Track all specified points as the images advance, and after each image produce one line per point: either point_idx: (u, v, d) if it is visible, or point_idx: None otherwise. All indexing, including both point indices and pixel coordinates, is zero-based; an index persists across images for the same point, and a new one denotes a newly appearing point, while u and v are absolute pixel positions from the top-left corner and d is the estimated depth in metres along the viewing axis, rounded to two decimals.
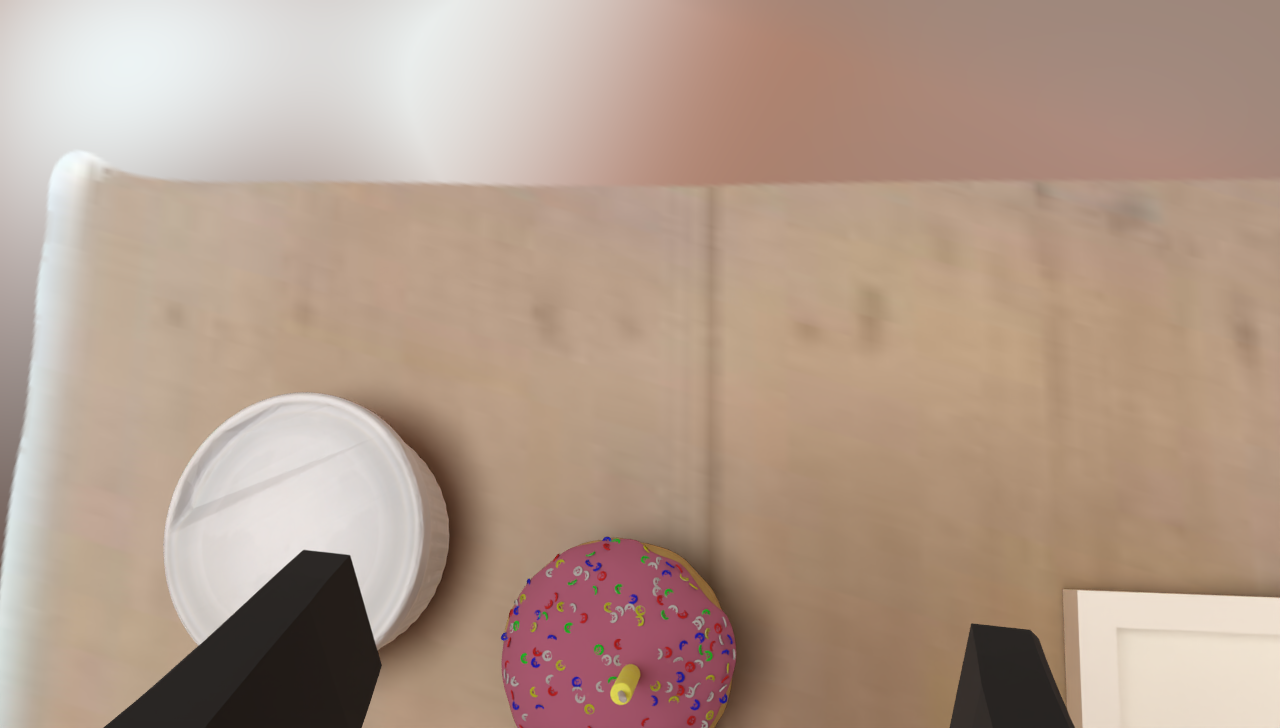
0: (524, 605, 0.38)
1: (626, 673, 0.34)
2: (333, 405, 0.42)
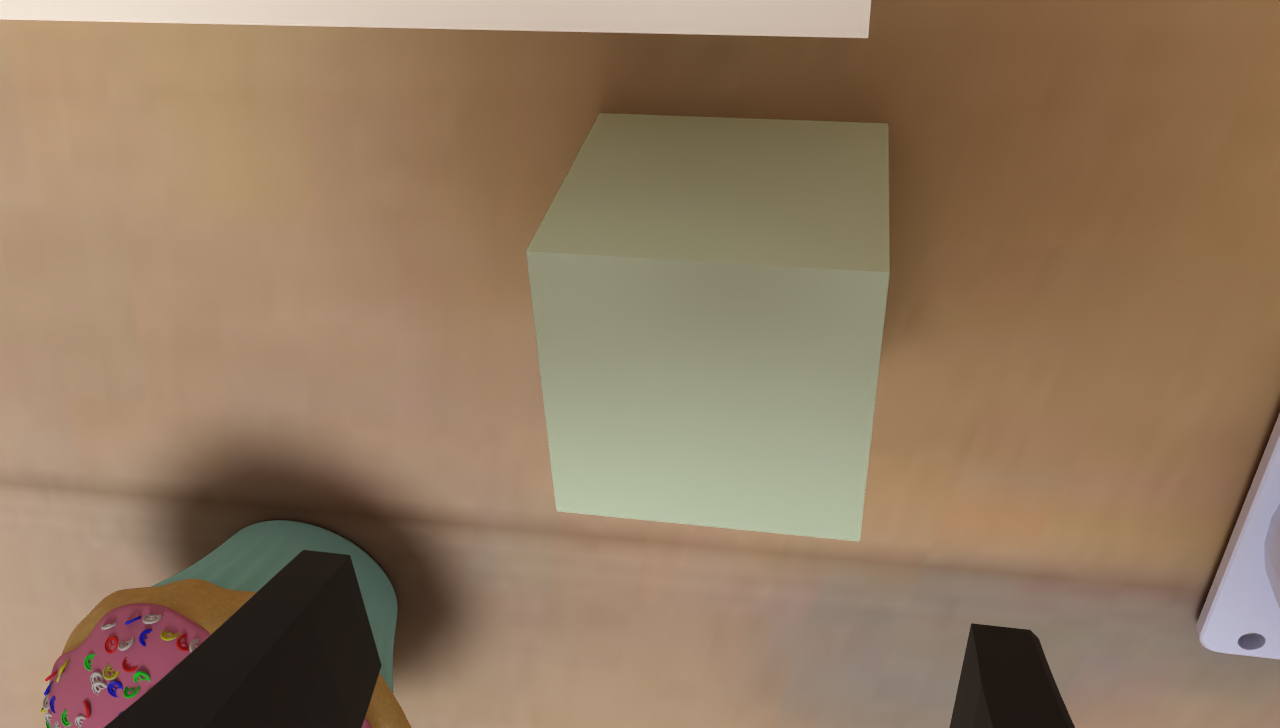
0: None
1: None
2: None
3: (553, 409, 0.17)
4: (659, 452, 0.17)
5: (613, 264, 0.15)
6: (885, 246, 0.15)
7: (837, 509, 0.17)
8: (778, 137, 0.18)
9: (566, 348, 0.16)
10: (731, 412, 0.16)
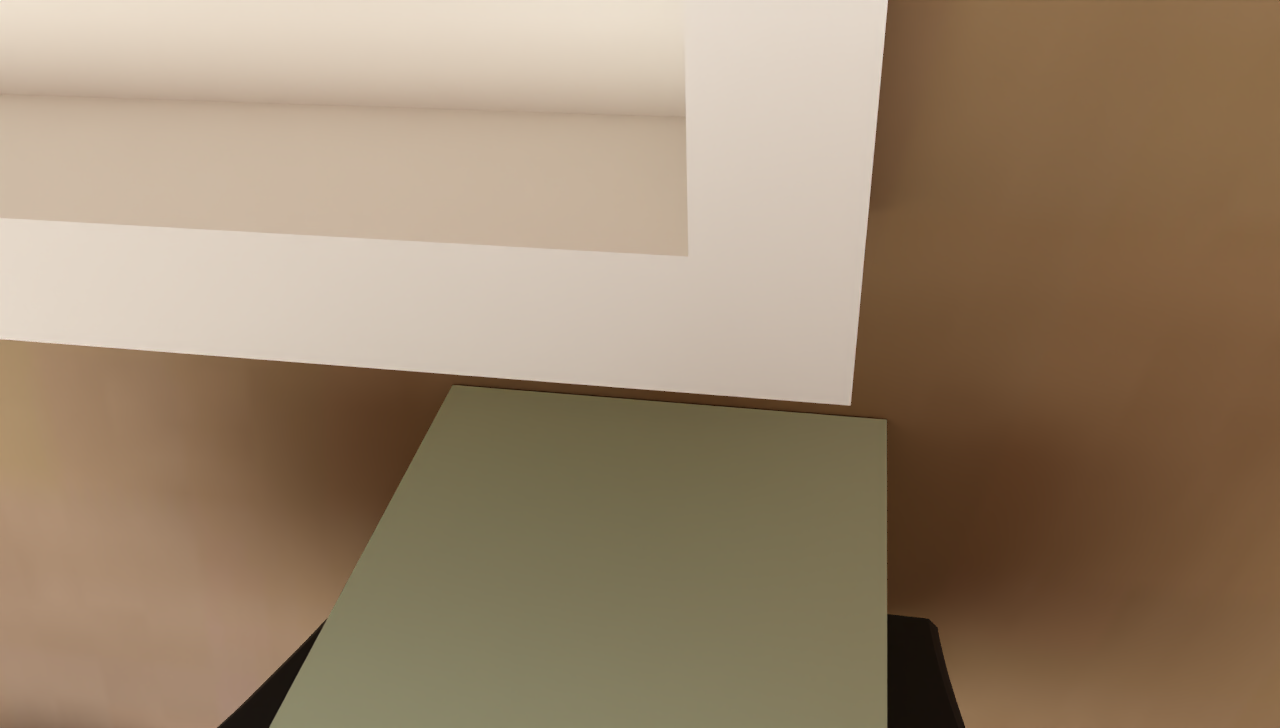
0: None
1: None
2: None
3: None
4: None
5: None
6: None
7: None
8: (714, 454, 0.11)
9: None
10: None
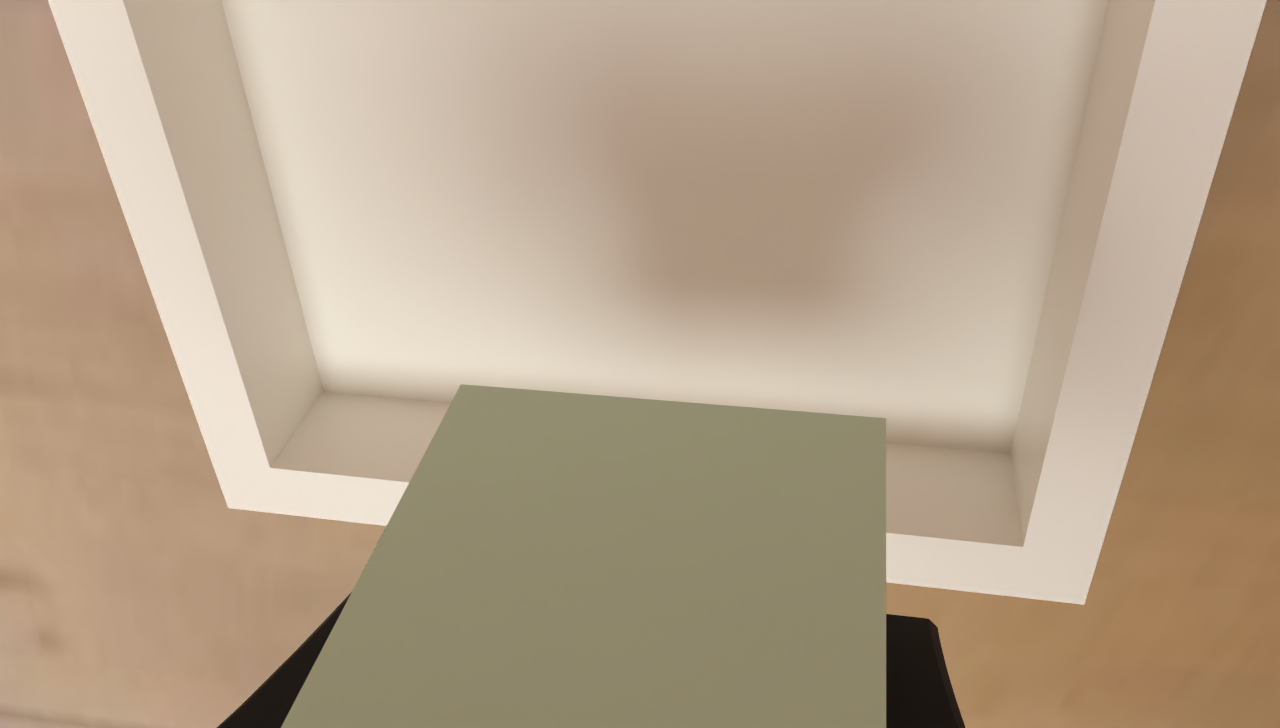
0: None
1: None
2: None
3: None
4: None
5: None
6: None
7: None
8: (717, 452, 0.12)
9: None
10: None
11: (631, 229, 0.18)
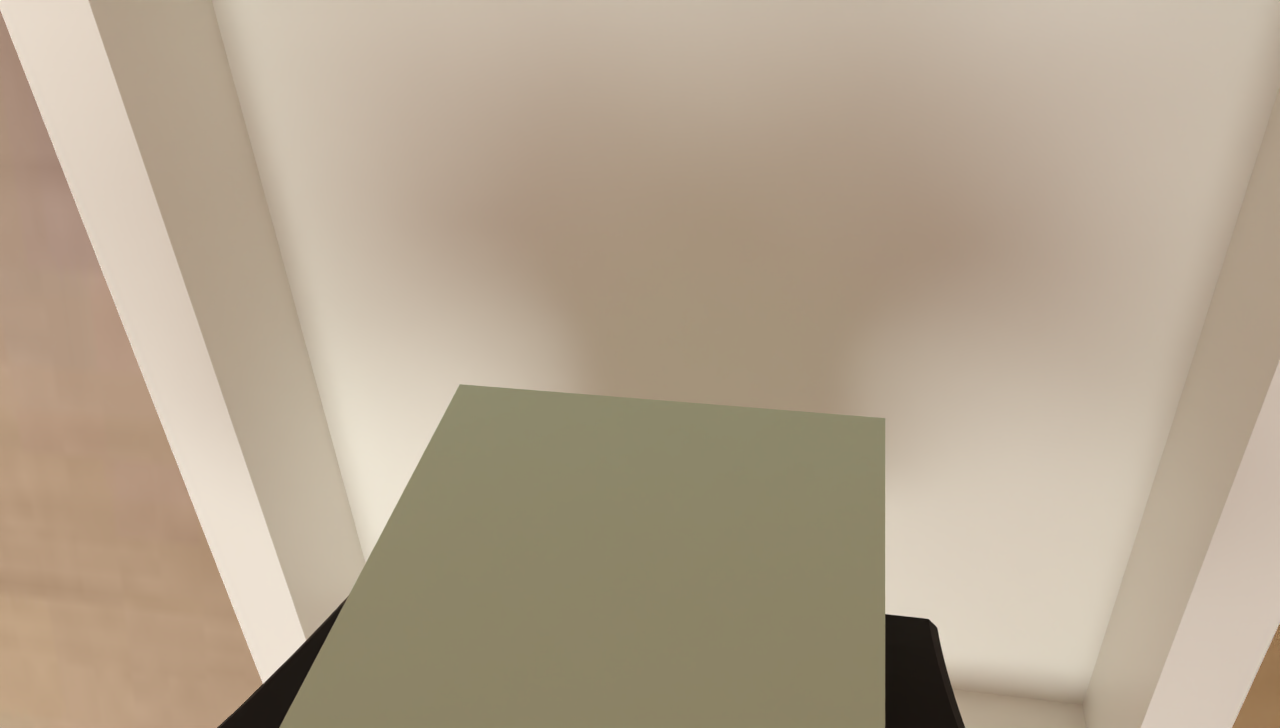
0: None
1: None
2: None
3: None
4: None
5: None
6: None
7: None
8: (717, 452, 0.12)
9: None
10: None
11: None
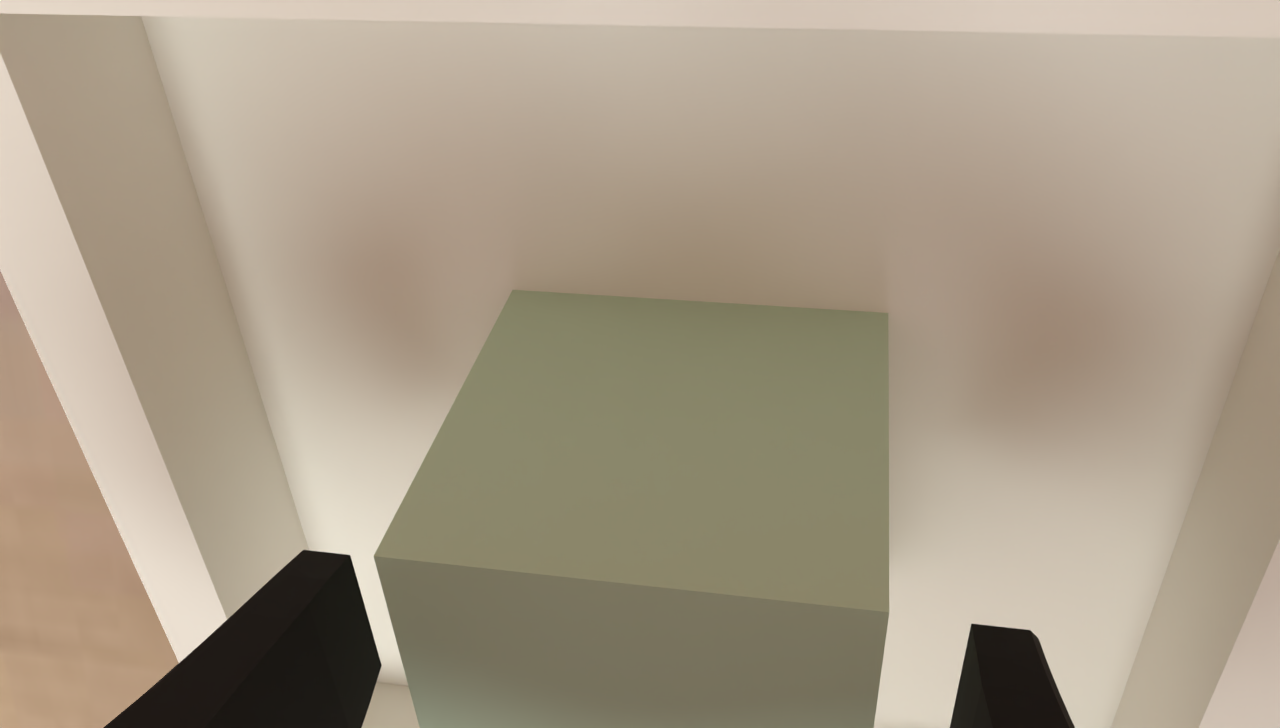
0: None
1: None
2: None
3: None
4: None
5: (495, 578, 0.10)
6: (883, 556, 0.10)
7: None
8: (741, 340, 0.13)
9: (442, 667, 0.12)
10: None
11: None
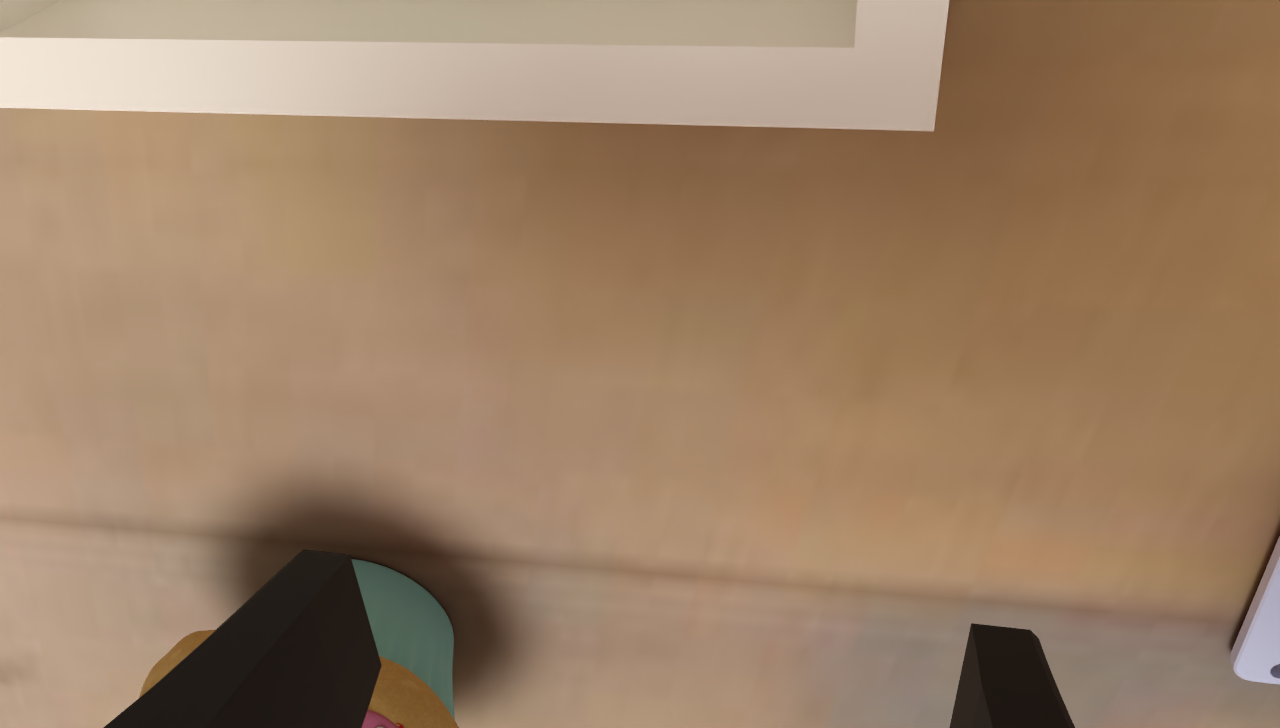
0: None
1: None
2: None
3: None
4: None
5: None
6: None
7: None
8: None
9: None
10: None
11: None
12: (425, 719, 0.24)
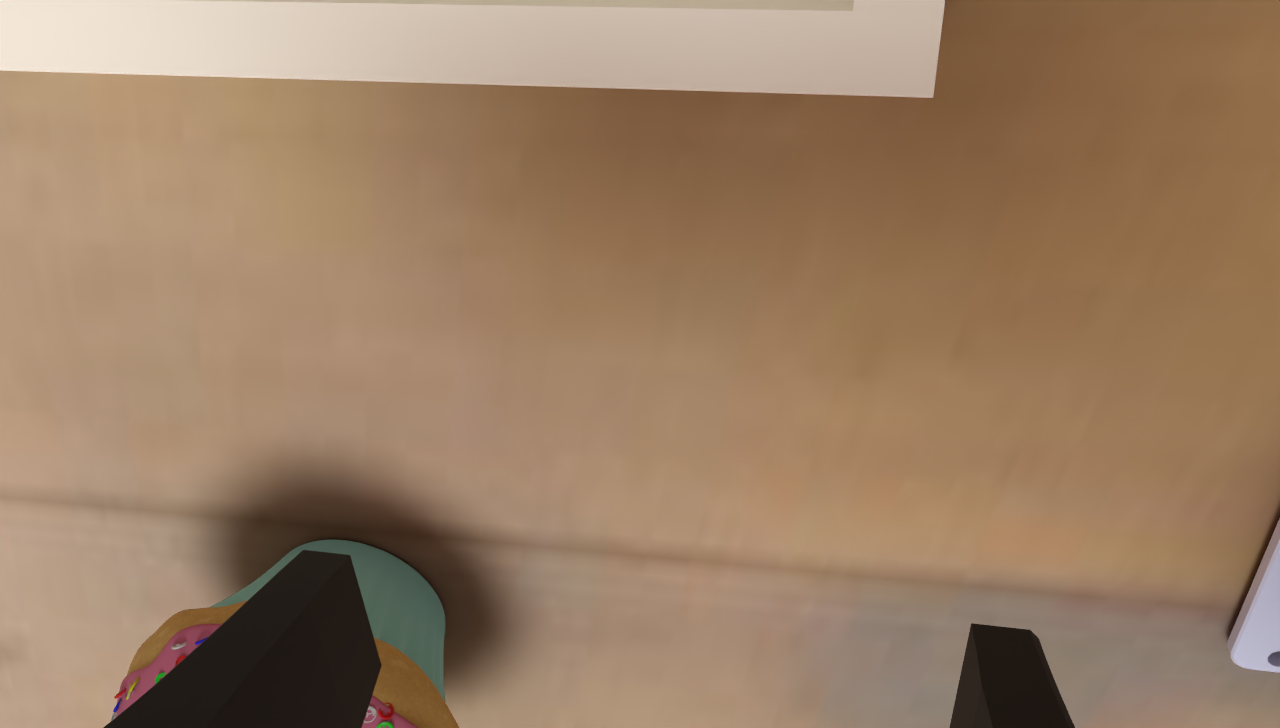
0: None
1: None
2: None
3: None
4: None
5: None
6: None
7: None
8: None
9: None
10: None
11: None
12: (415, 699, 0.24)
